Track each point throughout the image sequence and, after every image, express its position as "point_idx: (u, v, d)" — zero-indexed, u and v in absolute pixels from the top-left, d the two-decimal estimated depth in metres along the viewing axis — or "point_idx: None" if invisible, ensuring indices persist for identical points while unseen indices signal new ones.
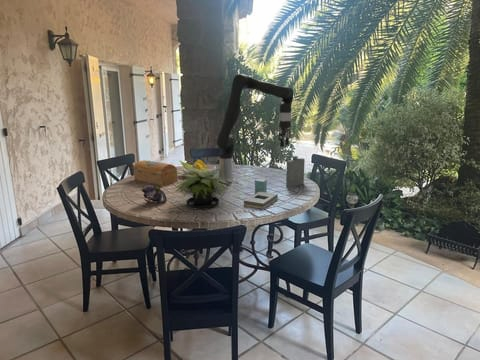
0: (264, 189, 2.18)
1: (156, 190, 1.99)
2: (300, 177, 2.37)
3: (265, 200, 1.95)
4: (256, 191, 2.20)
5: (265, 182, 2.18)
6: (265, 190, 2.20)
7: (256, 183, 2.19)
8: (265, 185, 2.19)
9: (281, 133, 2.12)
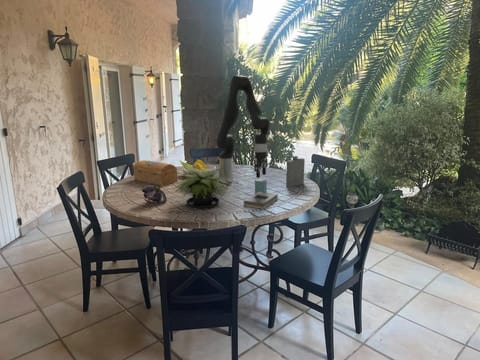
0: (264, 189, 2.18)
1: (156, 190, 1.99)
2: (300, 177, 2.37)
3: (265, 200, 1.95)
4: (256, 191, 2.20)
5: (265, 182, 2.18)
6: (265, 190, 2.20)
7: (256, 183, 2.19)
8: (265, 185, 2.19)
9: (256, 164, 2.10)
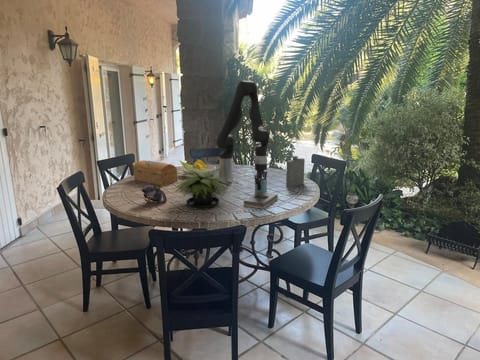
0: (264, 189, 2.18)
1: (156, 190, 1.99)
2: (300, 177, 2.37)
3: (265, 200, 1.95)
4: (256, 191, 2.20)
5: (265, 182, 2.18)
6: (265, 190, 2.20)
7: None
8: (265, 185, 2.19)
9: (257, 178, 2.13)
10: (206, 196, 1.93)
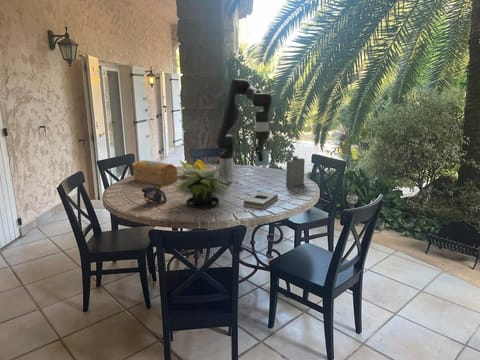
0: (266, 160, 1.95)
1: (156, 190, 1.99)
2: (300, 177, 2.37)
3: (265, 200, 1.95)
4: (257, 163, 1.97)
5: (267, 152, 1.95)
6: (267, 161, 1.97)
7: (257, 154, 1.95)
8: (267, 156, 1.96)
9: (258, 147, 1.90)
10: (206, 196, 1.93)
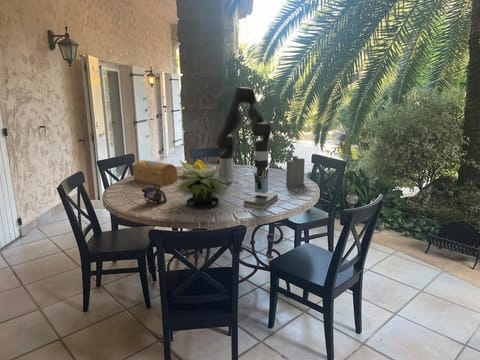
0: (265, 188, 1.97)
1: (156, 190, 1.99)
2: (300, 177, 2.37)
3: (265, 200, 1.95)
4: (256, 190, 1.99)
5: (266, 180, 1.97)
6: (266, 189, 1.99)
7: None
8: (266, 184, 1.98)
9: (257, 176, 1.92)
10: (206, 196, 1.93)
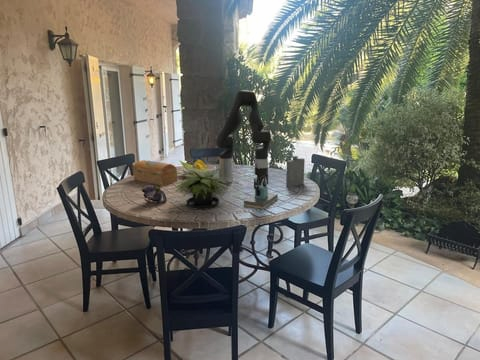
0: (265, 197, 1.99)
1: (156, 190, 1.99)
2: (300, 177, 2.37)
3: (265, 200, 1.95)
4: None
5: (266, 189, 1.99)
6: (266, 198, 2.00)
7: None
8: (266, 192, 1.99)
9: (256, 182, 1.92)
10: (206, 196, 1.93)
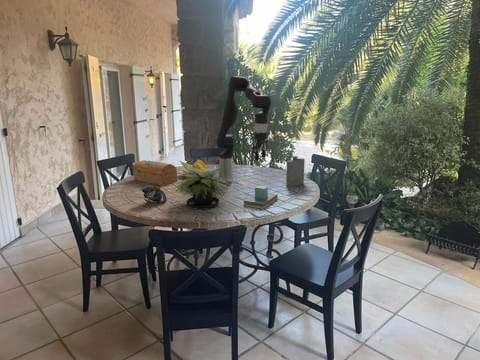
0: (265, 197, 1.99)
1: (156, 190, 1.99)
2: (300, 177, 2.37)
3: (265, 200, 1.95)
4: None
5: (266, 189, 1.99)
6: (266, 198, 2.00)
7: (256, 190, 1.99)
8: (266, 192, 1.99)
9: (255, 146, 1.95)
10: (206, 196, 1.93)
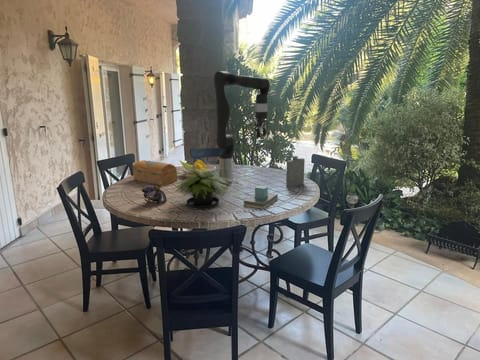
0: (265, 197, 1.99)
1: (156, 190, 1.99)
2: (300, 177, 2.37)
3: (265, 200, 1.95)
4: None
5: (266, 189, 1.99)
6: (266, 198, 2.00)
7: (256, 190, 1.99)
8: (266, 192, 1.99)
9: (257, 124, 2.14)
10: (206, 196, 1.93)
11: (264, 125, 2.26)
